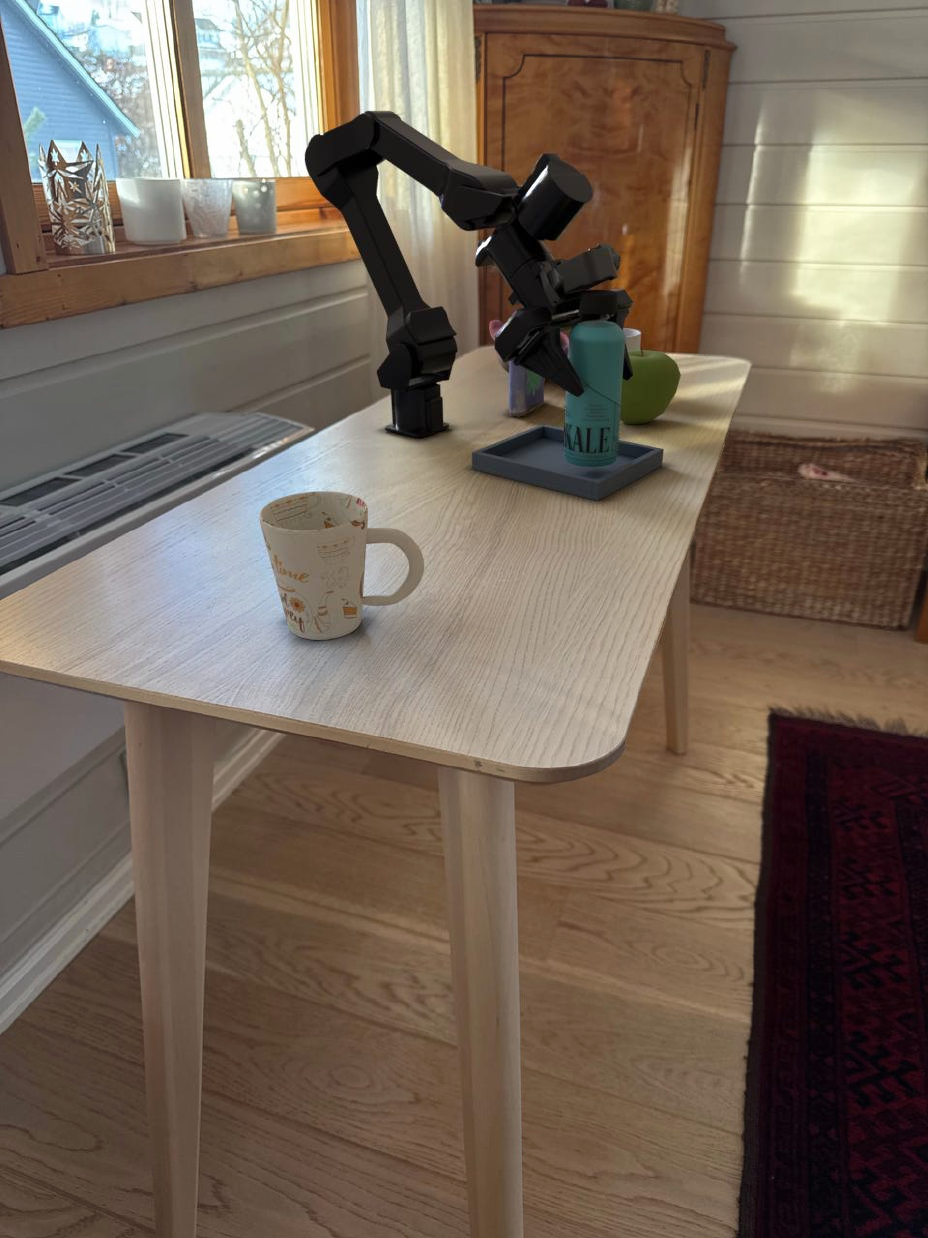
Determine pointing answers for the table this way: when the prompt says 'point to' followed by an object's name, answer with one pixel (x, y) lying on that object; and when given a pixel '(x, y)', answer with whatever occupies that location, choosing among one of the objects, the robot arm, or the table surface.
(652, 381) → the apple
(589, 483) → the tray
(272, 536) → the mug
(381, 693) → the table surface
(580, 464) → the beverage bottle
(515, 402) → the flask
